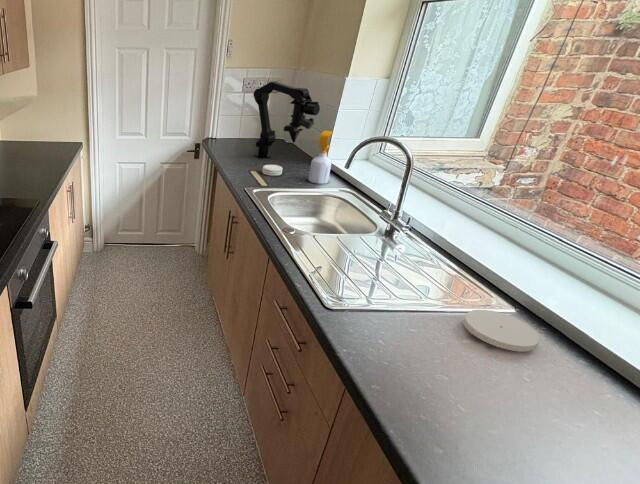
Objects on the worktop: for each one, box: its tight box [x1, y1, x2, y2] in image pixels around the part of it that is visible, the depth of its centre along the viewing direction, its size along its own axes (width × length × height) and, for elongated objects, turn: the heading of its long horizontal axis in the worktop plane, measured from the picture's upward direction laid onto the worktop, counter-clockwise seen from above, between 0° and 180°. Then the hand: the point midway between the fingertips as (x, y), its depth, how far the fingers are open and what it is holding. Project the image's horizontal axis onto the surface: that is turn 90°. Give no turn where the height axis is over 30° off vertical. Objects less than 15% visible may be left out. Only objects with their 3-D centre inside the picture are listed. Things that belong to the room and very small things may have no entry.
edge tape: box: [249, 170, 269, 187], centre depth 212 cm, size 24×3×1 cm, turn 178°
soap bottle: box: [307, 130, 334, 185], centre depth 201 cm, size 9×9×25 cm
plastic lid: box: [462, 309, 541, 353], centre depth 100 cm, size 14×14×2 cm
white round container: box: [261, 164, 284, 177], centre depth 218 cm, size 10×10×4 cm
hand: (293, 142), depth 231 cm, fingers closed
